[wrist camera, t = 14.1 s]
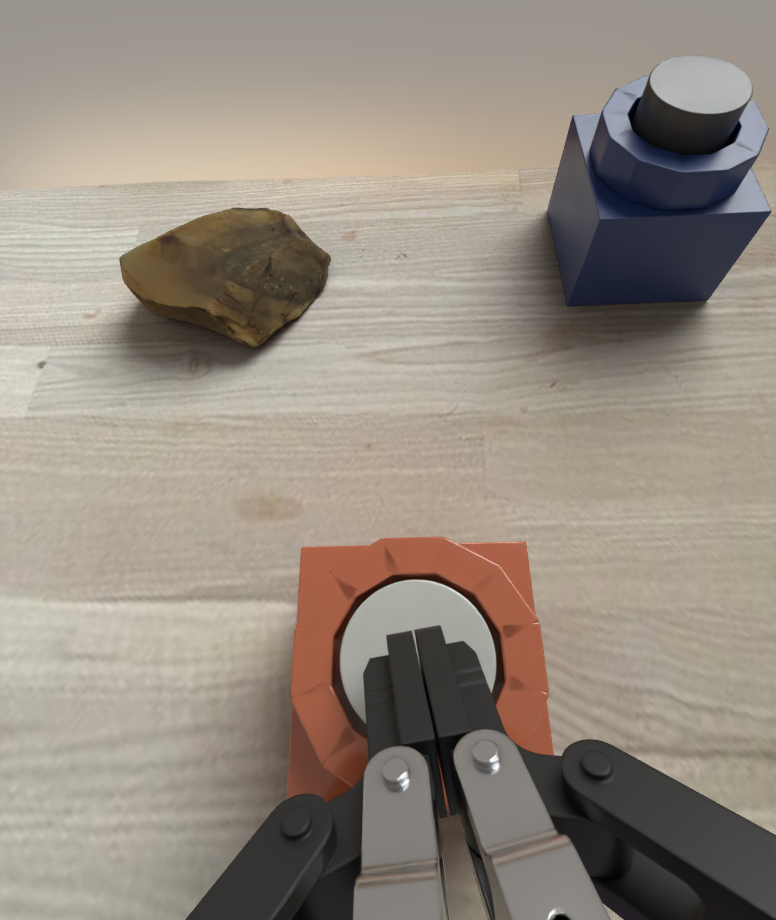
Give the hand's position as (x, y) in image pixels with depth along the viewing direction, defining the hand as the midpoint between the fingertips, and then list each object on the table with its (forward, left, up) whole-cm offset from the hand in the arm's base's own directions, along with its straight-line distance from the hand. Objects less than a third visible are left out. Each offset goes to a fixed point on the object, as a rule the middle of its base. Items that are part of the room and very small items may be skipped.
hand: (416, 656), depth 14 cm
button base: (0, 0, -9) cm, 9 cm away
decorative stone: (+21, -12, -9) cm, 26 cm away
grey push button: (+3, -27, -2) cm, 27 cm away
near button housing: (+3, -27, -9) cm, 29 cm away
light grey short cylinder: (0, 0, -3) cm, 3 cm away
